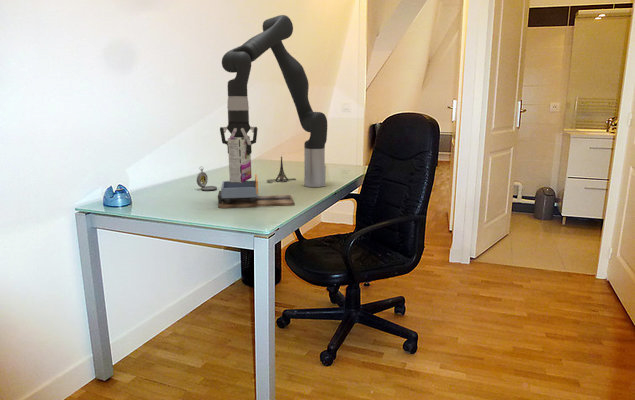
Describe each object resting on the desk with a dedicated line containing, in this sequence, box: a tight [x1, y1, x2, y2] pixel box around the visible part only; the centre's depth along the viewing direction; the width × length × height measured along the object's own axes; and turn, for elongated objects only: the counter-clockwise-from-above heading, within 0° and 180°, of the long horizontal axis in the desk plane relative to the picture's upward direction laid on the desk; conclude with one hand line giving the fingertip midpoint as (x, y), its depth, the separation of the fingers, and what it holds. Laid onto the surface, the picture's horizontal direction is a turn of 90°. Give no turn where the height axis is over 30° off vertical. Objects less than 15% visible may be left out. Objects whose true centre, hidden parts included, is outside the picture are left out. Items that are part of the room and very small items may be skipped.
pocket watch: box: [196, 167, 218, 192], centre depth 196 cm, size 8×8×10 cm
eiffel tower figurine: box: [265, 154, 297, 184], centre depth 218 cm, size 15×10×13 cm
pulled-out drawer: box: [220, 173, 259, 203], centre depth 171 cm, size 13×15×8 cm
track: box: [217, 190, 296, 209], centre depth 173 cm, size 28×14×4 cm, turn 99°
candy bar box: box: [227, 135, 252, 183], centre depth 168 cm, size 11×5×16 cm, turn 169°
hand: (239, 154), depth 168 cm, fingers closed on candy bar box, 6 cm apart
